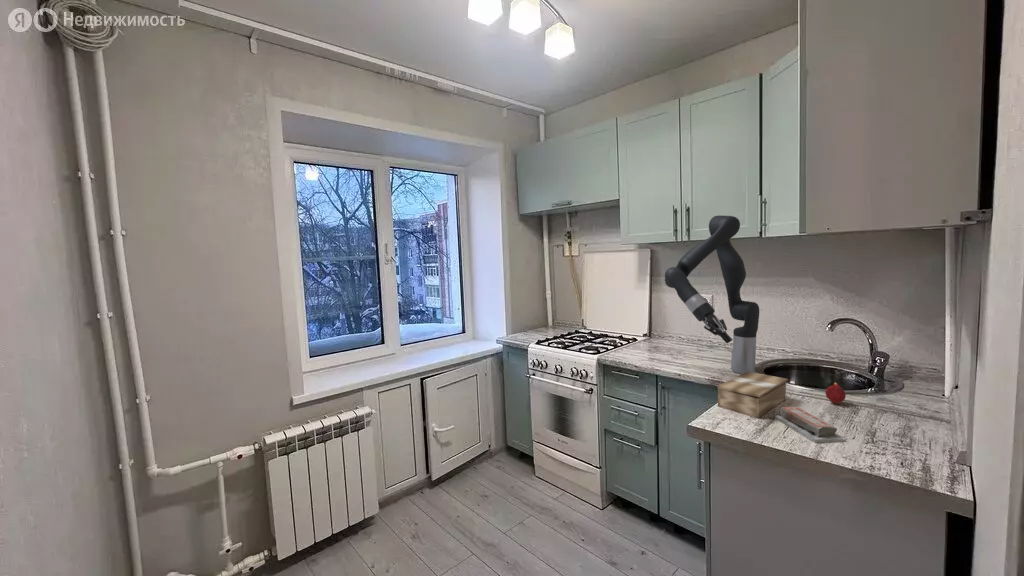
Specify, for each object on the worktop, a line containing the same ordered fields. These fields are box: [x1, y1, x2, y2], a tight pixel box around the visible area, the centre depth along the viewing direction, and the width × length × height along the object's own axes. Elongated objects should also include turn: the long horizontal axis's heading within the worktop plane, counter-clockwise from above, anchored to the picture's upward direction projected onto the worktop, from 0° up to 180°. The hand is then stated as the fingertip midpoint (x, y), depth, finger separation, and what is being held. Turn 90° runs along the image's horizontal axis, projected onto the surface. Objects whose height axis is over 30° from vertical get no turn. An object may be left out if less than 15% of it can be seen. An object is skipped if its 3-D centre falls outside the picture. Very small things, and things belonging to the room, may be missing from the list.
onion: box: [825, 382, 847, 405], centre depth 150 cm, size 6×6×8 cm
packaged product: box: [774, 406, 847, 444], centre depth 131 cm, size 18×5×10 cm
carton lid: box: [717, 372, 789, 397], centre depth 152 cm, size 14×25×1 cm, turn 127°
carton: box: [717, 382, 787, 419], centre depth 152 cm, size 14×24×7 cm, turn 127°
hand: (729, 341), depth 157 cm, fingers closed
